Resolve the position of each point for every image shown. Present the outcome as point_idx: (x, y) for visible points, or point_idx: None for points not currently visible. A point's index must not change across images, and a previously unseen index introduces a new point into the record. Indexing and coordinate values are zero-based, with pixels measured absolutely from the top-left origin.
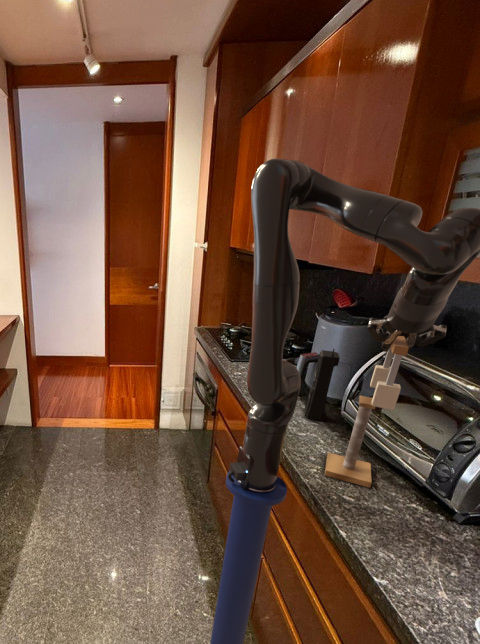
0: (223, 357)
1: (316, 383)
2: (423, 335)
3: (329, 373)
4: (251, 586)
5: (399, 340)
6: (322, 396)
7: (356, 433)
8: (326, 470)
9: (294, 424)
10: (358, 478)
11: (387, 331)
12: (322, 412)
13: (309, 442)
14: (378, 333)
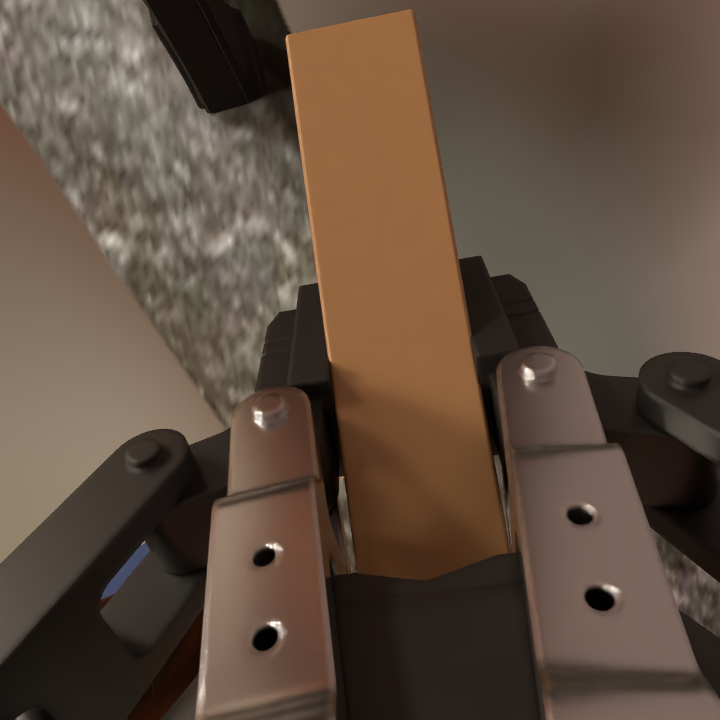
0: None
1: (147, 4)
2: (711, 448)
3: None
4: None
5: (418, 480)
6: (205, 36)
7: None
8: (340, 477)
9: (185, 187)
10: None
11: (231, 465)
12: (243, 78)
13: (256, 287)
14: (130, 693)
